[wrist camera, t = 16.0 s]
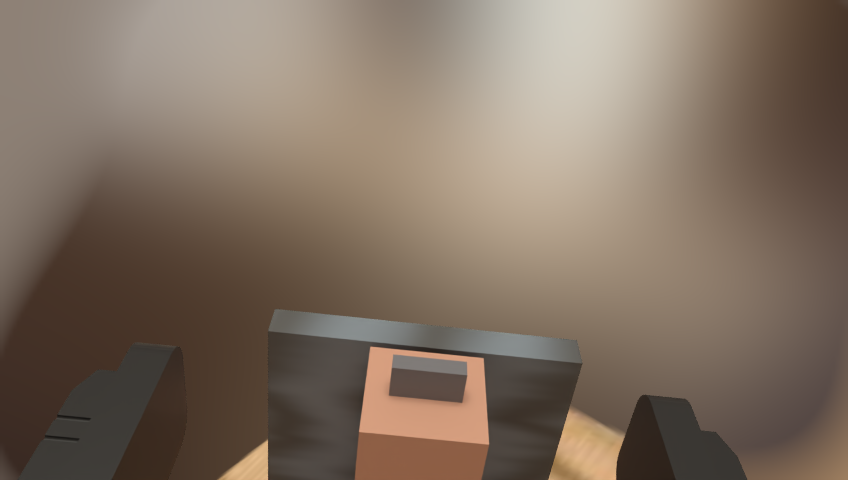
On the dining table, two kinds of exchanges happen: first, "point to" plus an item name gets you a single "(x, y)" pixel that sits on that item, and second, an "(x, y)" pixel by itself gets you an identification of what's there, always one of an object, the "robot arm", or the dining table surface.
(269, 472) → the grey brown l-shaped block
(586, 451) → the dining table surface
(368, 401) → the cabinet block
